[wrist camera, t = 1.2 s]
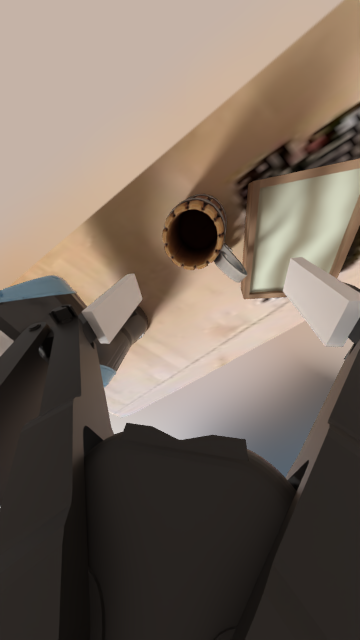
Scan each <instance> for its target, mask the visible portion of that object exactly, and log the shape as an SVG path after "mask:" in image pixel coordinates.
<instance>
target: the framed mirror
mask: <svg viewBox="0 0 360 640" xmlns="http://www.w3.org/2000/svg"><path fill="white" fill-rule="evenodd" d="M359 226H360V159H355V160H350V161H346V162H341V163H336V164H331V165H327V166H322V167H317V168H313V169H308V170H303V171H299V172H294V173H289V174H284V175H280V176H275V177H270V178H266V179H261V180H256V181H253V182H251V183H249V184H248V191H247V206H246V221H245V236H244V250H243V266H244V268H245V270H246V271H247V273H248V275H247V276H246V277H245V278H244V279H243V280H242V281H241V291H242V294H243V298H244V299H255V298H275V297H287V296H286V295H285V293H284V292H283V288H284V284H285V279H286V275H287V271H288V267H289V263H290V259H291V258H298V257H303V258H304V259H306V260H308V261H309V262H311V263H312V264H314V265H316V266H317V267H319V268H321V269H322V270H324V271H325V272H327V273H329V274H330V275H332V276H333V277H335V278H338V275H339V273H340V271H341V268H342V266H343V263H344V261H345V259H346V256H347V254H348V252H349V249H350V247H351V245H352V242H353V240H354V238H355V235H356V233H357V231H358V228H359Z"/></svg>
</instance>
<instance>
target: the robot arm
mask: <svg viewBox="0 0 360 640" xmlns="http://www.w3.org/2000/svg"><path fill="white" fill-rule="evenodd" d="M283 292H284V293H285V295H286V296H287V297H288V299H289V300H290V301H291V303H292V304H293V305H294V306H295V308H296V309H297V310H298V312H299V313H300V314H301V315H302V317H303V318H304V319H305V321H306V322H307V323H308V324H309V326H310V327H311V328H312V330H313V331H314V332H315V334H316V335H317V336H318V337H319V338H320V340H321V341H322V343H323V344H324V345H325V346H326V347H343V346H344V344H345V343H346V341H347V339H348V338H349V339H350V340H351V341H352V342H354V344H353V346H352V347H351V349H350V350H349V352H348V354H347V355H346V356H345V358H344V359H345V361H344V363H343V365H342V367H341V369H340V371H339V373H338V375H337V377H336V380H335V382H334V384H333V386H332V388H331V390H330V392H329V394H328V396H327V398H326V400H325V402H324V404H323V406H322V408H321V410H320V412H319V414H318V416H317V418H316V421H315V422H314V424H313V426H312V429H311V431H310V433H309V435H308V437H307V439H306V441H305V443H304V445H303V447H302V449H301V451H300V453H299V455H298V457H297V459H296V461H295V462H294V464H293V465H292V467H291V469H290V470H289V472H288V474H287V476H286V478H285V477H284V476H283V475H282V474H281V473H280V472H279V471H278V470H277V469H276V468H275V467H274V466H272V464H270V463H269V462H268V461H266V460H265V459H264V458H262V457H261V456H259V455H257V454H256V453H254V452H252V451H250V450H248V449H247V446H246V440H245V439H238V438H230V437H224V436H217V435H209V436H203V437H197V438H191V439H185V440H178V439H176V438H174V437H172V436H170V435H168V434H166V433H164V432H162V431H160V430H158V429H156V428H154V427H152V426H145V425H138V424H131V423H126V426H125V429H124V431H123V432H120V433H117V434H114V433H113V431H112V428H111V424H110V419H109V413H108V407H107V402H106V397H105V391H104V387H106V386H107V385H108V383H109V382H110V381H111V379H112V378H113V376H114V375H115V374H116V371H117V370H118V368H119V366H120V364H121V362H122V361H123V359H124V357H125V355H126V354H127V352H128V350H129V348H130V347H131V345H132V344H134V343H135V342H136V341H137V340H138V339H140V338H141V337H142V336H143V335H144V334H145V332H146V330H147V328H148V320H147V317H146V315H145V313H144V312H143V311H142V309H141V308H140V307H138V305H139V303H140V302H141V301H142V299H143V298H142V295H141V292H140V289H139V286H138V283H137V280H136V277H135V274H134V273H133V274H127V275H125V276H124V277H123V278H122V279H121V280H119V281H118V282H117V283H116V284H114V285H113V286H112V287H111V288H110V289H108V290H107V291H106V292H105V293H104V294H102V295H101V296H100V297H99V298H98V299H96V300H95V301H94V302H93V303H91V304H90V305H89V306H88V307H87V306H86V305H85V303H84V302H83V301H82V300H81V298H80V297H79V296H78V295H77V292H76V291H74V290H73V289H72V288H71V287H70V286H69V285H68V283H67V282H66V281H65V280H64V279H63V278H61V277H59V276H55V275H51V276H45V277H41V278H37V279H34V280H30V281H27V282H23V283H20V284H17V285H14V286H11V287H8V288H5V289H3V290H0V506H1V508H0V640H360V289H358V288H357V287H355V286H353V285H350V284H347V283H344V282H341V281H340V280H338V279H337V278H335V277H333V276H332V275H330V274H329V273H327V272H325V271H324V270H322V269H321V268H319V267H317V266H316V265H314V264H312V263H311V262H309V261H308V260H306V259H304V258H303V257H298V258H291V259H290V263H289V267H288V271H287V275H286V279H285V284H284V288H283Z"/></svg>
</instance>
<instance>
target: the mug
mask: <svg viewBox="0 0 360 640" xmlns="http://www.w3.org/2000/svg"><path fill="white" fill-rule="evenodd" d="M210 199H211V200H210ZM220 208H221V209H220ZM164 225H165V226H164V230H163V234H162V238H163V242H164V243H165V247H164V248H165V251H166V253H167V255H168V257H172V261H173V262H174V263H175V264H176V265H177V266H179V267H181V266H183V267H184V269H187V270H194V269H195V268H197V269H202V268H204V267H206V266H208V264H209V263H212V262H213V261H214V262H215V264H216V265H217V267H218V268H219V269H220V270H221V271H222V272H223V273H224V274H226V275H227V276H228V277H229V278H230V279H232V280H233V281H235V282H238V283H239V282H241V281H242V280H243V279H244V278H245V277H246V276H247V275H248V273H247V271H246V270H245V268H244V266H243V265H242V264H241V262H240V261H239V260H238V259H237V258H236V257H235V256H234V255H233V253H232V249H231V248H230V247H229V246H228V245H226V244H225V243H224V242H225V234H226V227H227V218H226V213H225V211H224V208H223V206H222V205H221V204H220V202H219V201H218V200H217V199H215V198H214V197H212V196H210V195H206V194H196V195H194V196H192V197H189V198H188V199H186V200H185V201H182V202H181V203H179V204H178V205H177V206H176V207H175V208H173V210H172V211H171V212H170V214H169V215H168V217H167V219H166V222H165V224H164Z"/></svg>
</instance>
